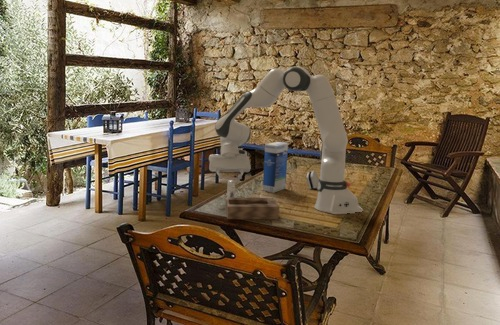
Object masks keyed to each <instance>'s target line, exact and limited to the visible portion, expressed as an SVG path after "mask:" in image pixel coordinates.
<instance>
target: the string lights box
mask: <svg viewBox="0 0 500 325" xmlns="http://www.w3.org/2000/svg"><path fill="white" fill-rule="evenodd" d="M288 151H289V143H288V142H283V141H282V142H281V141H275V142H269V143H265V144H264V159H263V160H264V161H263V178H262V179H263V181H262V191H263V192H269V193H273V194H274V193H277V192H280V191H282V190H286V185H287V184H286V183H287V168H288V165H287V164H288V154H289V153H288Z"/></svg>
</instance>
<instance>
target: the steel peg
mask: <svg viewBox="0 0 500 325" xmlns="http://www.w3.org/2000/svg"><path fill="white" fill-rule="evenodd" d="M226 188H227V190H226V191H227V192H226V198H236V195H235V194H236V180H232V179H231V180H227V187H226Z"/></svg>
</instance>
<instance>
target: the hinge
mask: <svg viewBox="0 0 500 325" xmlns="http://www.w3.org/2000/svg"><path fill="white" fill-rule="evenodd" d="M319 179H320V177H319V176H318V172H317V171H316V170H311V171H308V172H307V174H306V182H307V186H308V189H309V190H312V189H316V190H317V191H319V190H318V183H319Z"/></svg>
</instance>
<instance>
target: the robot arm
mask: <svg viewBox="0 0 500 325" xmlns="http://www.w3.org/2000/svg"><path fill="white" fill-rule="evenodd" d="M285 89H288V90H289V91H292V92H306V93H307V94H308V95H307V96H309V101H310V105H311V107H312V110H313V113H314V116H315V120H316V123H317V127H318V130H319V134H320V137H321V138H320V139H321V141H322V146H321V147H322V151H321V161H320V173H319V174H320V175H319V183H318V190H317V191H318V193H317V196H316V202H315V204H314V209H316V210H318V211H320V212H323V213H329V214H332V215H347V213H350V214H356V213H355V212H362V211H363V208H362V207H361V206H360V205H359V200H358V197H357V195H355V194H354V193H353V192H352V191H351V190H349V189H348V188H350V187H351V186H352V184H351V183H350V182H348V181H346V180H345V170H346V169H345V168H346V157H347V156H346V152H347V145H348V143H349V140H348V136H347V132H346V129H345V125H344V122H343V119H342V115H341V112H340V109H339V105H338V102H337V98H336V96H335V93H334V89H333V87H332V85H331V83H330V81H329V78H328V77H327V75H324V74H316V75H315V74H314V75H312V73H311V71H310V70H309V69H308V68H306V67H304V66H303V67H302V66H299V65H298V66H297V65H296V66H292V67H290V68H288V69H286V71H284V70H283V69H281V68H272V69H271V70H269V71H268V72H267V73H266V74H265V75H264V77H263V78H262V79H261V81H260V82H259V84H258V85H257V86H256V87H255V88H254V89H251V90H250V91H246V92H245V93H243V94H242V95H241V96H240V97H239V98H238V100H237V101H236V102H235V103H233V105H231V107H230V108H229V109H228V110H227V111H226V112H225V113H224V114H223V115H222V116H221V117H219V118H218V119H217V120H216V122H215V125H214V130H215V133H216V135H217V136H219V137H220V140H219V141H220V142H219V143H220V154H214V153H213V154H210V155H209V156H208V162H209V168H208V169H209V171H210V172H215V173H216V175H217V176H218V179H220V180H221V179H223V174H222V173H221V172H223V173H224V172H226V173H240V174H238V177H237V178H238V180H242V176H243V174H244V173H249V172H250V171H251V167H252V166H251V165H252V164H251V161H250V157H249V156H248V151H246V150H243V149H240V148H239V147H241V146H243V145H245V144H246V143H247V142H249V141H250V139H251V134H252V133H251V132H252V131H251V128H250V126H249V125H246V124H244V123H242V122H239V121H236V119H237V118H238V117H239V116H240V114H242V112H244V111H245V110H247V109H248V108H249V109H251V108H259V109H264V108H265V109H266V108H269V107H271V106H273V105H274V104H275V103H276V101H277V100H278V98H279V97H280V95H281V94H282V92H283V91H284V90H285ZM347 187H348V188H347ZM363 212H364V211H363ZM363 212H362V213H363Z"/></svg>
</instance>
